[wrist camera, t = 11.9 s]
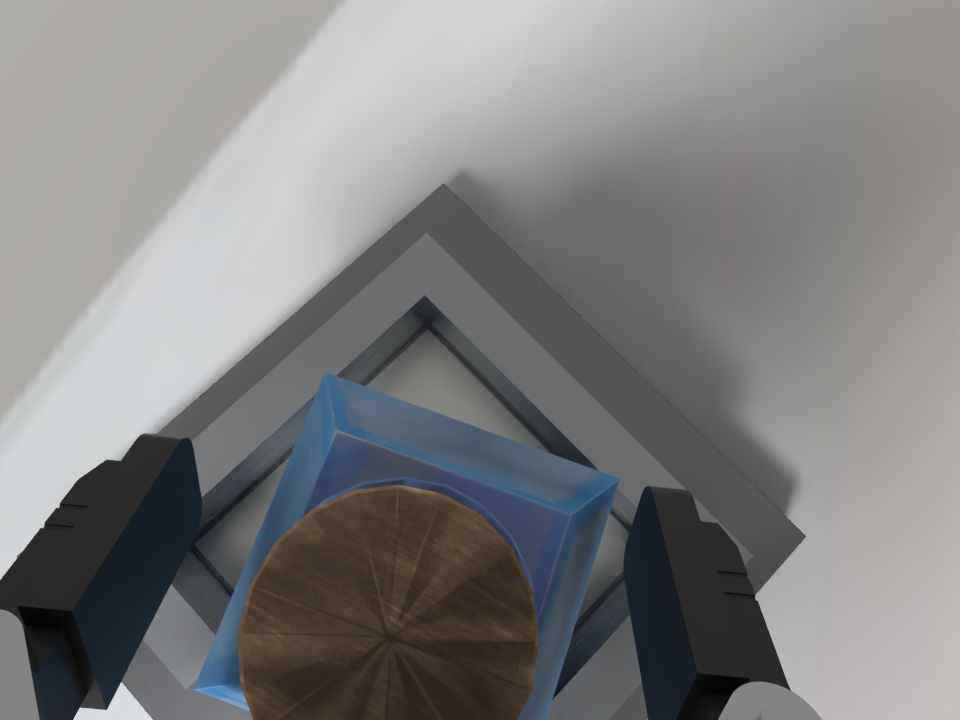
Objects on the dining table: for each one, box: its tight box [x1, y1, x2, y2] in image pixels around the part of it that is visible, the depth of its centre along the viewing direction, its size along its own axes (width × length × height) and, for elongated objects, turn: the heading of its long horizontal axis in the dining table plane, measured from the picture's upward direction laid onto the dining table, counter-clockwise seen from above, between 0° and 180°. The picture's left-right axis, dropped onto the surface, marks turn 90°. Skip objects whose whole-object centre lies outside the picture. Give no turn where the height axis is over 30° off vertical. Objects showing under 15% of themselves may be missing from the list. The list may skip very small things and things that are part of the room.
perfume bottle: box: [193, 372, 620, 720], centre depth 13 cm, size 6×6×12 cm
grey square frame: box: [17, 183, 806, 720], centre depth 18 cm, size 16×15×4 cm
